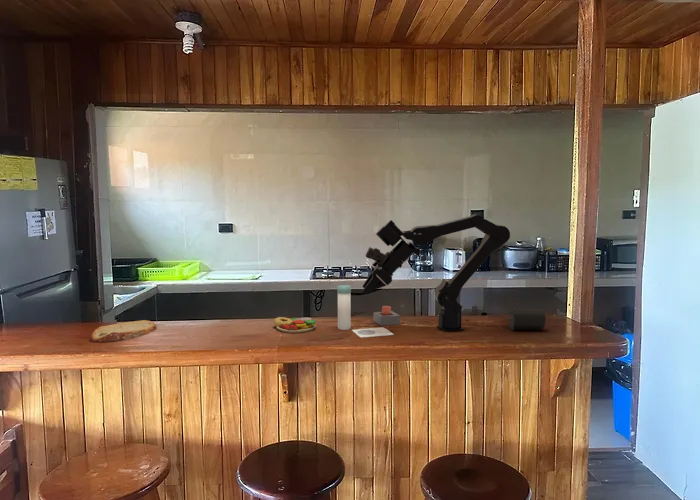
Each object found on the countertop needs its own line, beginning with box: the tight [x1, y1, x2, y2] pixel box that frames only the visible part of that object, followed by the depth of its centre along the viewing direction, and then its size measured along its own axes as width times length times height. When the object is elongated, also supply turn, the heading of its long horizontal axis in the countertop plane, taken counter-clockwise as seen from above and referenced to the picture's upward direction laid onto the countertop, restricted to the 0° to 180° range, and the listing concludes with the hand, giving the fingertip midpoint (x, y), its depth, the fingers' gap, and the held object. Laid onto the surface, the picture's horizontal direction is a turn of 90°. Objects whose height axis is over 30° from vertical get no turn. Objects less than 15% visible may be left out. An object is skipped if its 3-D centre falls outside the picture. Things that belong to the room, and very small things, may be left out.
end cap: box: [508, 307, 547, 331], centre depth 161 cm, size 10×7×7 cm
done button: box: [381, 305, 392, 316], centre depth 170 cm, size 3×3×4 cm
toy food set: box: [273, 316, 317, 334], centre depth 163 cm, size 13×13×3 cm
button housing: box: [372, 310, 401, 326], centre depth 170 cm, size 7×7×3 cm
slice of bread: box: [89, 319, 158, 344], centre depth 157 cm, size 18×18×4 cm
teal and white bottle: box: [336, 284, 352, 331], centre depth 162 cm, size 4×4×14 cm
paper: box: [351, 327, 395, 339], centre depth 157 cm, size 11×9×1 cm
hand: (363, 289), depth 162 cm, fingers open, 9 cm apart
